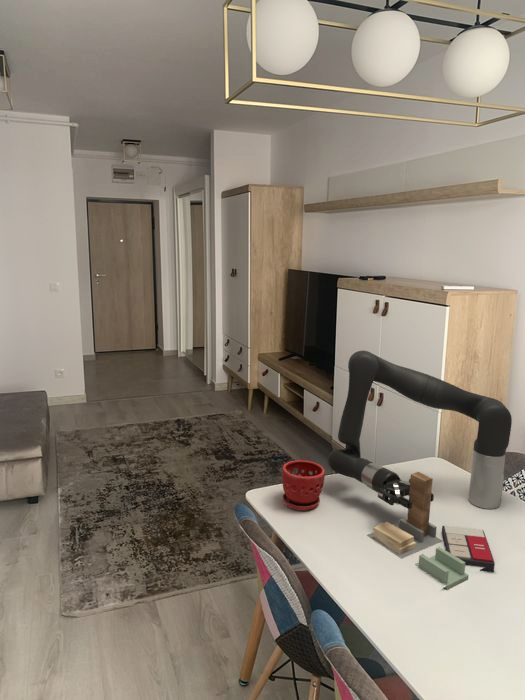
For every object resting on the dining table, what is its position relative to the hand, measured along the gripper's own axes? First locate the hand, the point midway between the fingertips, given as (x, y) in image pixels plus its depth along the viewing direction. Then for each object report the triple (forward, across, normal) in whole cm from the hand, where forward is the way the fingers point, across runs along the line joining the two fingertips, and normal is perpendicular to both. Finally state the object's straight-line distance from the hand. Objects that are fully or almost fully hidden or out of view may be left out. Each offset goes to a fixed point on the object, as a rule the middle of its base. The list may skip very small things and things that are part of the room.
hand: (422, 501), depth 148 cm
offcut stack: (-1, -9, +10) cm, 13 cm away
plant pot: (-33, -16, +11) cm, 38 cm away
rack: (-1, -5, +11) cm, 12 cm away
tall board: (-1, 0, +10) cm, 10 cm away
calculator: (+11, +5, +12) cm, 17 cm away
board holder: (+14, -8, +11) cm, 20 cm away
